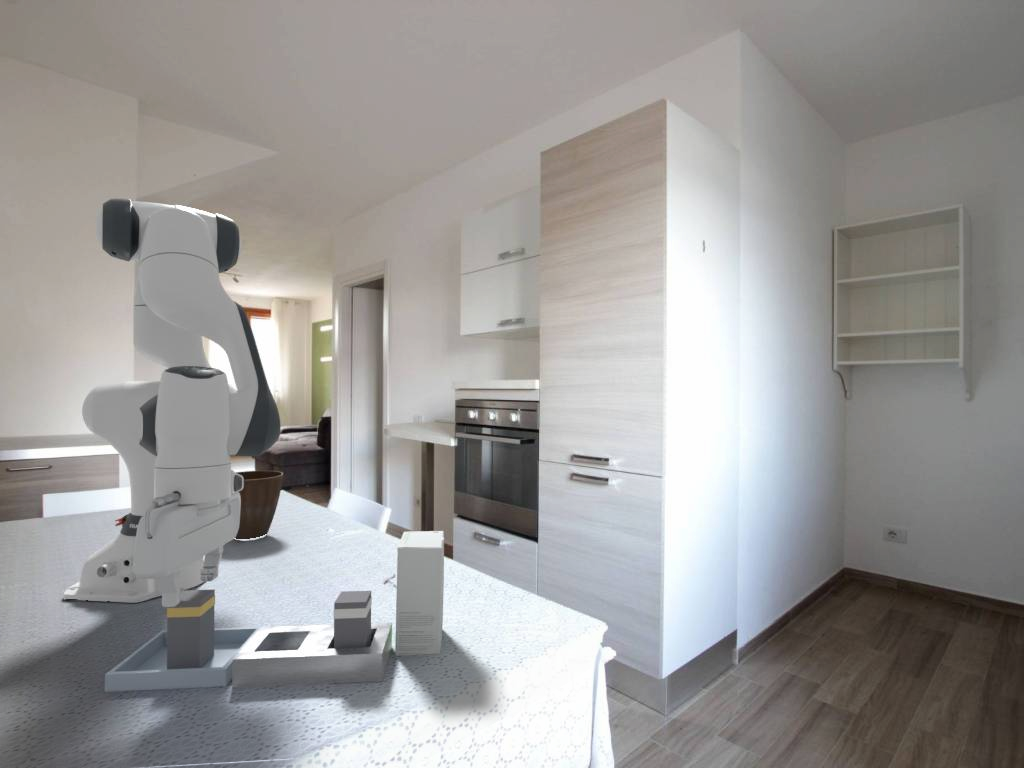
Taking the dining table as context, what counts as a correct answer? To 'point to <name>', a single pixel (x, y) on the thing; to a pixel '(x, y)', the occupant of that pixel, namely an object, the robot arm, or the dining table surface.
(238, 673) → the double slot holder
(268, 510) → the plant pot
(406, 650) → the skincare box
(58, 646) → the dining table surface
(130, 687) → the tray
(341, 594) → the twin plug
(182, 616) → the plug
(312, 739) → the dining table surface
